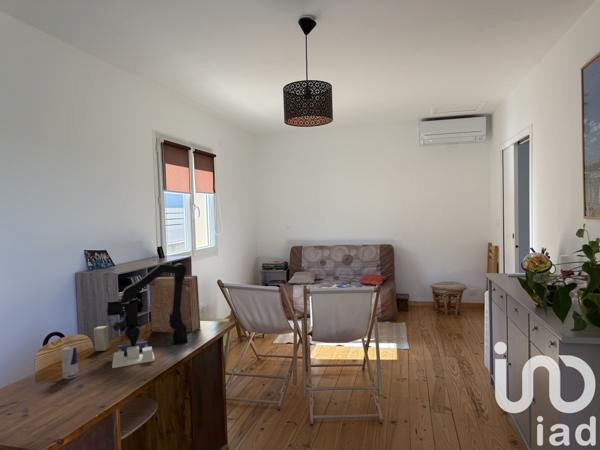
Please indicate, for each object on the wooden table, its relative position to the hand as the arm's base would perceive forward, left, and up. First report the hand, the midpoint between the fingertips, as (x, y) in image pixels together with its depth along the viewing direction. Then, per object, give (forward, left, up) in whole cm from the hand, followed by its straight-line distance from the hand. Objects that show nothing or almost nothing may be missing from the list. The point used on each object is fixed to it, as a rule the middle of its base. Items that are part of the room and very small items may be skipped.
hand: (133, 345), depth 197 cm
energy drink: (+24, +22, -3) cm, 33 cm away
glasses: (0, +4, -3) cm, 5 cm away
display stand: (0, +16, -3) cm, 16 cm away
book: (-23, -26, -3) cm, 34 cm away
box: (+14, -11, -3) cm, 18 cm away
